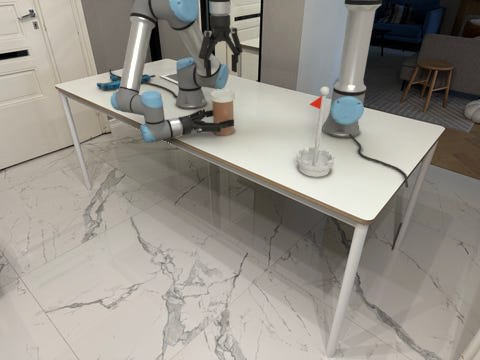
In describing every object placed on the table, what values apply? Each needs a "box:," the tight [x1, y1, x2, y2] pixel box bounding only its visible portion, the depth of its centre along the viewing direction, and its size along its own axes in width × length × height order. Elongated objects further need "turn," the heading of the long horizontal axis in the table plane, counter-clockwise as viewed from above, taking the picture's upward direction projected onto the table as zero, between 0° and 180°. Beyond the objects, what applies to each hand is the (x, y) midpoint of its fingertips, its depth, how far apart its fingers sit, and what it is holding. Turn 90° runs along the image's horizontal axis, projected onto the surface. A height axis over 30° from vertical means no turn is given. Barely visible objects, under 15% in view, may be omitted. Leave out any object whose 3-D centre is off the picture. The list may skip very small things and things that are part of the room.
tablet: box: [159, 71, 178, 85], centre depth 214 cm, size 32×20×1 cm, turn 41°
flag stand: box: [296, 86, 335, 178], centre depth 114 cm, size 13×13×30 cm
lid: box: [209, 88, 236, 103], centre depth 141 cm, size 10×10×2 cm
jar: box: [211, 100, 235, 136], centre depth 145 cm, size 9×9×17 cm
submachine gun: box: [96, 73, 156, 91], centre depth 208 cm, size 34×4×25 cm
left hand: (226, 116), depth 147 cm, fingers open, 13 cm apart
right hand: (221, 74), depth 136 cm, fingers open, 12 cm apart
